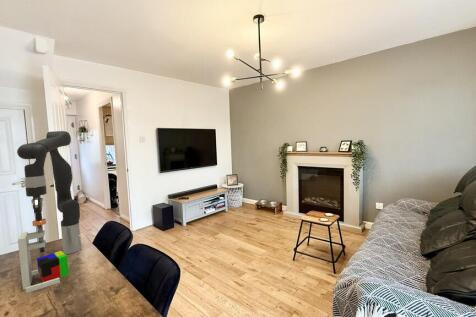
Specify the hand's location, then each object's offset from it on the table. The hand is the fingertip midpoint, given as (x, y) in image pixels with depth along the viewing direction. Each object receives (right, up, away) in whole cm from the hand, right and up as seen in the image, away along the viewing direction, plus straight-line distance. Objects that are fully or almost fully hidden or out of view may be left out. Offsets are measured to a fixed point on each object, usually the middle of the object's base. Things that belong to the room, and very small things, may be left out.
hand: (39, 220), depth 112 cm
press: (+1, -30, +2) cm, 30 cm away
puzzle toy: (+4, -30, +5) cm, 31 cm away
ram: (+1, -16, +1) cm, 16 cm away
